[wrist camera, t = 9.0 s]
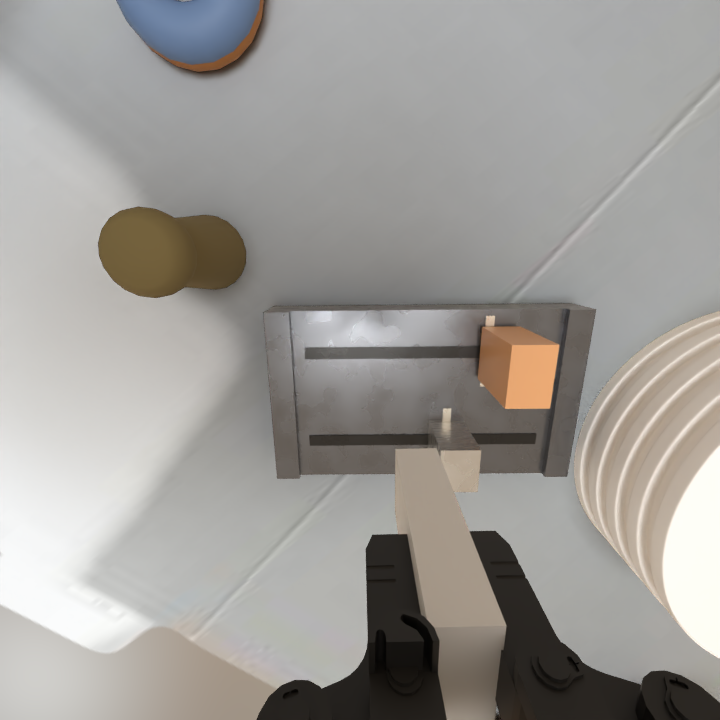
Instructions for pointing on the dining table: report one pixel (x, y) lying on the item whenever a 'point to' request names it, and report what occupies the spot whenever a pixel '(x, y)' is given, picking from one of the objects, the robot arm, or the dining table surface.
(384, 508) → the dining table surface
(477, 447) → the slider panel
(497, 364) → the fader
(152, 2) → the doughnut
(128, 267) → the cork
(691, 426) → the plate stack
